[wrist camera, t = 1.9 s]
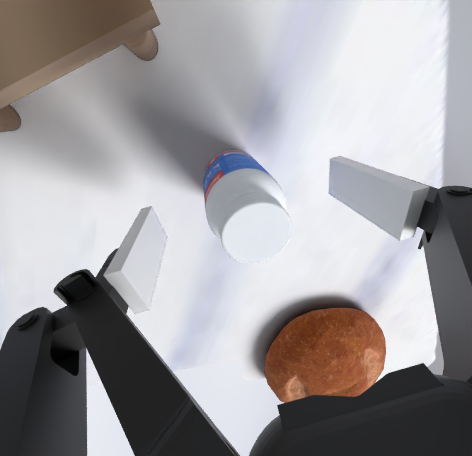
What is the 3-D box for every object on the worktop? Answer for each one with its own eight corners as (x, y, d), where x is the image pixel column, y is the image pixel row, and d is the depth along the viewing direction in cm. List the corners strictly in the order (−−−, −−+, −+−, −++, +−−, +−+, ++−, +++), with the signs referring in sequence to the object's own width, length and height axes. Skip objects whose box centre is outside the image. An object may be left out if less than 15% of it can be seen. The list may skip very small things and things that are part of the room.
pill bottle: (204, 145, 17) (211, 180, 9) (264, 152, 18) (320, 188, 10) (201, 204, 20) (205, 273, 12) (253, 207, 21) (291, 271, 13)
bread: (284, 395, 49) (300, 448, 41) (235, 331, 32) (248, 399, 24) (373, 362, 47) (407, 410, 40) (371, 276, 31) (428, 331, 23)
